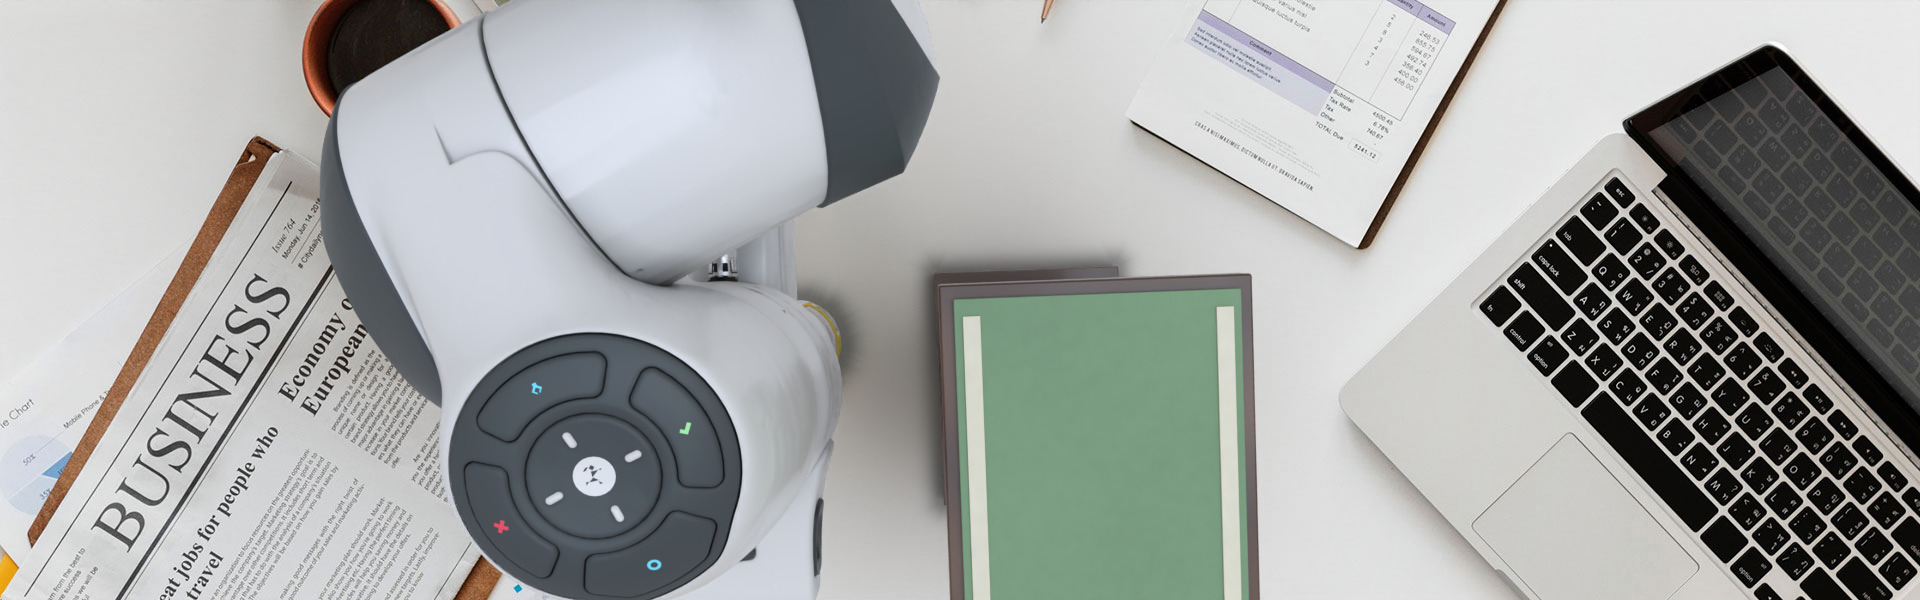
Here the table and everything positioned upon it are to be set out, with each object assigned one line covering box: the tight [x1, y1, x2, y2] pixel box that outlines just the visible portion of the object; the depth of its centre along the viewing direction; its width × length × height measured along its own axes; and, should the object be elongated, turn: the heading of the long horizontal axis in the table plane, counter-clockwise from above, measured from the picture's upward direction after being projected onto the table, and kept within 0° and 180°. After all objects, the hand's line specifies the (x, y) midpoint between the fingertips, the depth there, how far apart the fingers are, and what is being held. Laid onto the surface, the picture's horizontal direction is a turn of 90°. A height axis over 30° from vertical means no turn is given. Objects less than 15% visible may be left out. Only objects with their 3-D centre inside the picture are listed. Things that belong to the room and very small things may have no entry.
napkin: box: [953, 288, 1249, 600], centre depth 37 cm, size 13×10×1 cm
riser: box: [934, 265, 1261, 600], centre depth 51 cm, size 14×11×28 cm
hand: (778, 361), depth 55 cm, fingers open, 8 cm apart
